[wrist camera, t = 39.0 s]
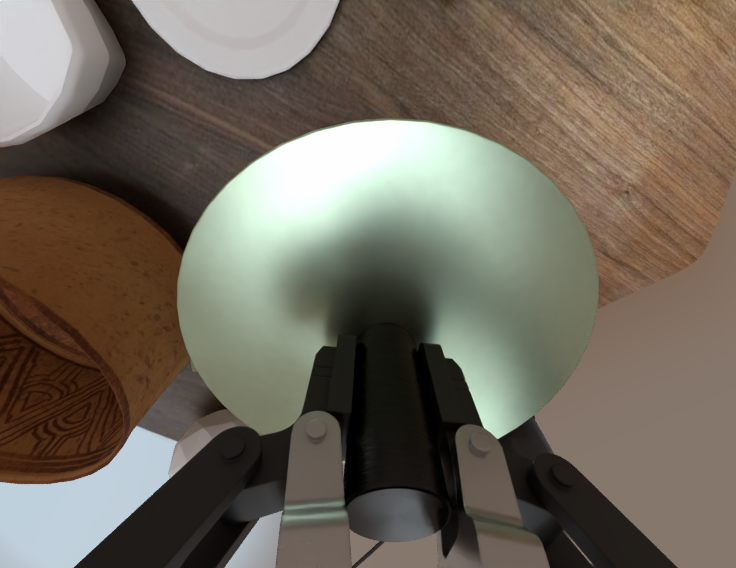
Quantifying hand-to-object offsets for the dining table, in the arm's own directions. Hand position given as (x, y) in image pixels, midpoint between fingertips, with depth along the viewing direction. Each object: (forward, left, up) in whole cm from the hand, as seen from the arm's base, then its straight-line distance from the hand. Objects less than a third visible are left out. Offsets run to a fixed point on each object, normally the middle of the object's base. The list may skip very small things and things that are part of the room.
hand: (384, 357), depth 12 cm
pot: (-14, +33, -28) cm, 45 cm away
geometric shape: (-43, +20, -28) cm, 55 cm away
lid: (0, 0, -1) cm, 1 cm away
